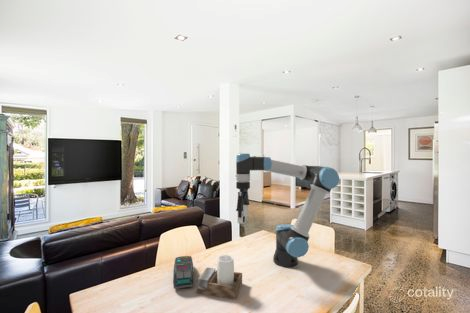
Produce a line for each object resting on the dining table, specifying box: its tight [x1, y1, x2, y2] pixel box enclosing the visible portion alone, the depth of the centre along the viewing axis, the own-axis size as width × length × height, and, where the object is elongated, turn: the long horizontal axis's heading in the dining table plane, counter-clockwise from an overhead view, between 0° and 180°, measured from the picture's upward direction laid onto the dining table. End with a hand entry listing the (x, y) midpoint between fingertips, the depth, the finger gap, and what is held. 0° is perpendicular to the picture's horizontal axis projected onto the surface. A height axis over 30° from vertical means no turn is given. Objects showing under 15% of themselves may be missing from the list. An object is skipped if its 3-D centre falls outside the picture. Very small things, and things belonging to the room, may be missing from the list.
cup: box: [216, 254, 235, 286], centre depth 120 cm, size 8×8×14 cm
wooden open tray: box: [195, 267, 243, 300], centre depth 121 cm, size 20×14×6 cm
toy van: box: [172, 255, 195, 289], centre depth 132 cm, size 11×25×10 cm, turn 12°
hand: (243, 219), depth 132 cm, fingers open, 13 cm apart
